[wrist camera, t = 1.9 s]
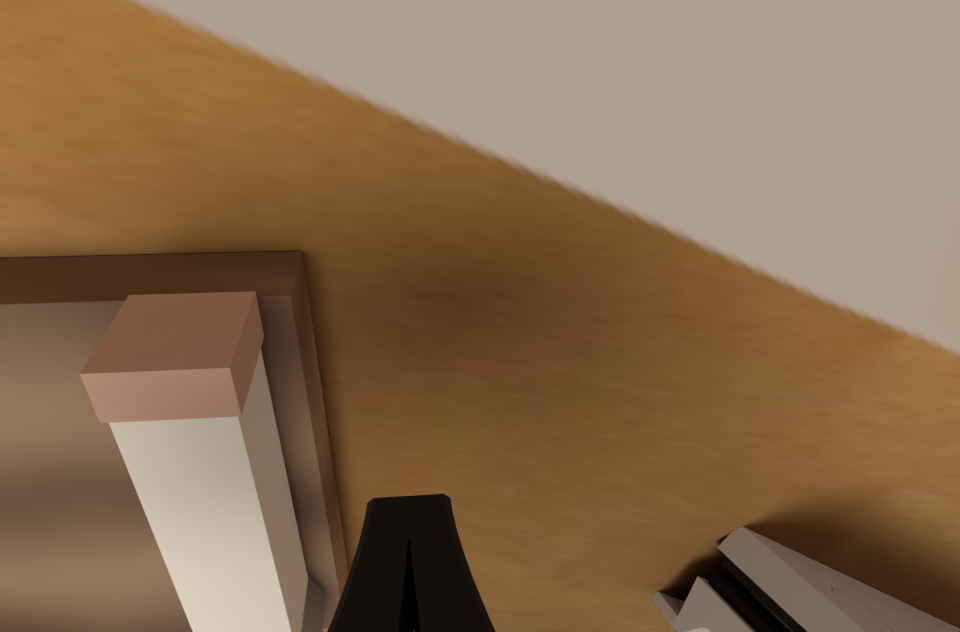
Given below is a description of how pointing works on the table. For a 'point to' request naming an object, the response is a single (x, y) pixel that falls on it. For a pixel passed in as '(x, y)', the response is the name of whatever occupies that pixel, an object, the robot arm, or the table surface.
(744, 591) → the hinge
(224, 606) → the folding leg
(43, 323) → the stool seat
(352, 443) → the table surface
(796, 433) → the table surface
